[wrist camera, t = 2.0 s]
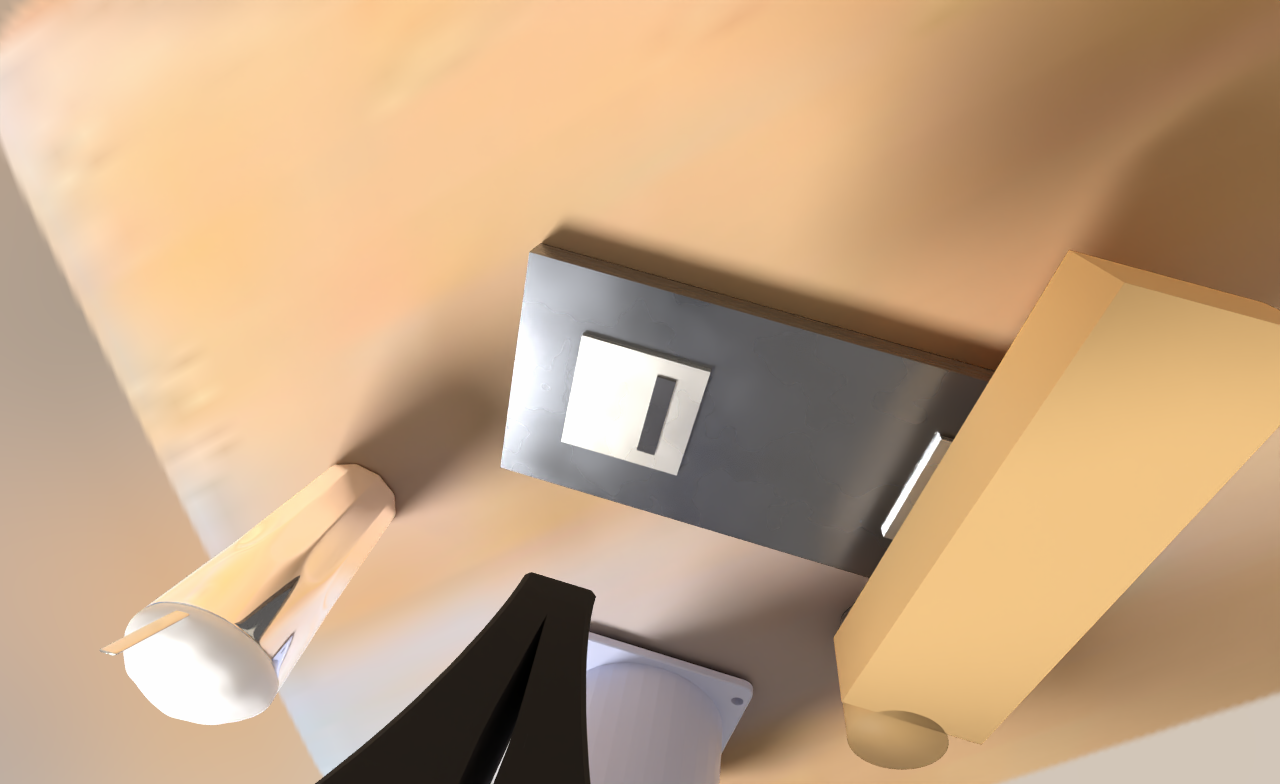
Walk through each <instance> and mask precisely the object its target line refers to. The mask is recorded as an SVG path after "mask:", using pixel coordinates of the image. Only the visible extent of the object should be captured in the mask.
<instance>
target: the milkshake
mask: <svg viewBox="0 0 1280 784" xmlns="http://www.w3.org/2000/svg"><path fill="white" fill-rule="evenodd" d="M395 514H396V509H395V496H394V493H393V492H392V491H391V490H390V488H389V487H388V486H387V485H386V483H385V482H384V481H383V480H382V478H381V477H380V476H379V475H377V474H375V473H373V472H371V471H369V470H367V469H365V468H363V467H361V466H359V465H357V464H344V465H333V466H332V467H330V468H329V469H328V470H326V471H325V472H324V473H322V474H321V475H320V476H319V477H317V478H316V479H315V480H313V481H312V482H311V483H310V484H308V485H307V486H306V487H304V488H303V489H302V490H301V491H299V492H298V493H297V494H295V495H294V496H293V497H292V498H290V499H289V500H288V501H287V502H285V503H284V504H283V505H281V506H280V507H279V508H278V509H276V510H275V511H274V512H272V513H271V514H270V515H269V516H267V517H266V518H265V519H263V520H262V521H261V522H260V523H258V524H257V525H256V526H254V527H253V528H252V529H251V530H249V531H248V532H247V533H245V534H244V535H243V536H242V537H240V538H239V539H238V540H236V541H235V542H234V543H232V544H231V545H230V546H228V547H227V548H226V549H224V550H223V551H222V552H220V553H219V554H217V555H216V556H215V557H213V558H212V559H210V560H209V561H208V562H206V563H205V564H204V565H202V566H201V567H200V568H198V569H197V570H195V571H194V572H193V573H191V574H190V575H189V576H187V577H186V578H185V579H183V580H182V581H181V582H179V583H178V584H177V585H175V586H174V587H172V588H171V589H170V590H168V591H167V592H166V593H164V594H163V595H161V596H160V597H159V598H158V599H156V600H155V601H153V602H152V603H151V604H149V605H148V606H147V607H145V608H144V609H143V610H141V611H140V612H138V613H137V614H136V615H135V616H134V617H133V618H132V619H131V621H130V623H129V625H128V626H127V628H126V631H125V635H124V637H123V638H121V639H119V640H117V641H115V642H113V643H111V644H109V645H107V646H105V647H103V648H102V649H100V651H101V652H104V653H107V654H111V655H117V654H119V653H121V652H123V651H124V662H125V668H126V671H127V674H128V675H129V677H130V678H131V679H132V680H133V681H134V682H135V683H136V684H137V686H138V688H139V689H140V690H141V692H142V693H143V694H144V695H145V697H146V698H147V699H148V700H149V701H150V702H151V703H152V704H153V705H154V706H156V707H157V708H158V709H159V710H161V711H162V712H163V713H165V714H166V715H168V716H170V717H173V718H177V719H182V720H186V721H190V722H194V723H198V724H205V725H218V724H223V723H229V722H237V721H241V720H244V719H248V718H251V717H253V716H256V715H258V714H260V713H262V712H263V711H264V710H266V709H267V707H269V705H270V704H271V703H272V701H273V700H274V698H275V696H276V694H277V692H278V691H279V689H280V688H281V686H282V685H283V683H284V682H285V680H286V679H287V677H288V675H289V674H290V672H291V671H292V669H293V668H294V666H295V665H296V663H297V661H298V660H299V658H300V657H301V655H302V654H303V652H304V650H305V649H306V647H307V646H308V644H309V643H310V641H311V640H312V638H313V636H314V635H315V633H316V632H317V630H318V629H319V627H320V625H321V624H322V622H323V621H324V619H325V618H326V616H327V615H328V613H329V612H330V610H331V609H332V607H333V606H334V604H335V603H336V601H337V600H338V598H339V597H340V595H341V594H342V592H343V591H344V589H345V588H346V587H347V585H348V584H349V582H350V581H351V579H352V578H353V576H354V575H355V573H356V572H357V570H358V569H359V568H360V566H361V565H362V563H363V562H364V560H365V559H366V557H367V556H368V554H369V553H370V551H371V550H372V549H373V547H374V546H375V544H376V543H377V541H378V540H379V538H380V537H381V535H382V534H383V533H384V531H385V530H386V528H387V527H388V525H389V524H390V522H391V521H392V519H393V518H394V516H395Z"/></svg>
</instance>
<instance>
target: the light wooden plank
mask: <svg viewBox="0 0 1280 784" xmlns="http://www.w3.org/2000/svg"><path fill="white" fill-rule="evenodd" d="M1279 426H1280V310H1278V309H1276V308H1274V307H1272V306H1269V305H1267V304H1265V303H1263V302H1259V301H1256V300H1252V299H1248V298H1245V297H1241V296H1237V295H1234V294H1230V293H1226V292H1223V291H1219V290H1215V289H1212V288H1208V287H1204V286H1201V285H1197V284H1193V283H1189V282H1186V281H1182V280H1178V279H1175V278H1171V277H1167V276H1164V275H1160V274H1156V273H1153V272H1149V271H1145V270H1142V269H1138V268H1134V267H1131V266H1127V265H1123V264H1120V263H1116V262H1112V261H1109V260H1105V259H1101V258H1097V257H1094V256H1090V255H1086V254H1083V253H1079V252H1075V251H1072V250H1069V251H1068V252H1067V254H1066V256H1065V257H1064V259H1063V261H1062V262H1061V264H1060V266H1059V267H1058V269H1057V270H1056V272H1055V274H1054V275H1053V277H1052V279H1051V280H1050V282H1049V284H1048V285H1047V287H1046V289H1045V290H1044V292H1043V294H1042V295H1041V297H1040V298H1039V300H1038V302H1037V303H1036V305H1035V307H1034V308H1033V310H1032V312H1031V313H1030V315H1029V317H1028V318H1027V320H1026V322H1025V323H1024V325H1023V326H1022V328H1021V330H1020V331H1019V333H1018V335H1017V336H1016V338H1015V340H1014V341H1013V343H1012V345H1011V346H1010V348H1009V350H1008V351H1007V353H1006V355H1005V356H1004V358H1003V359H1002V361H1001V363H1000V364H999V366H998V368H997V369H996V371H995V373H994V374H993V376H992V378H991V379H990V381H989V383H988V384H987V386H986V387H985V389H984V391H983V392H982V394H981V396H980V397H979V399H978V401H977V402H976V404H975V406H974V407H973V409H972V411H971V412H970V414H969V415H968V417H967V419H966V420H965V422H964V424H963V425H962V427H961V429H960V430H959V432H958V434H957V435H956V437H955V439H954V440H953V442H952V443H951V445H950V447H949V448H948V450H947V452H946V453H945V455H944V457H943V458H942V460H941V462H940V463H939V465H938V467H937V468H936V470H935V471H934V473H933V475H932V476H931V478H930V480H929V481H928V483H927V485H926V486H925V488H924V490H923V491H922V493H921V495H920V496H919V498H918V500H917V501H916V503H915V504H914V506H913V508H912V509H911V511H910V513H909V514H908V516H907V518H906V519H905V521H904V523H903V524H902V526H901V528H900V529H899V531H898V532H897V534H896V536H895V537H894V539H893V541H892V542H891V544H890V546H889V547H888V549H887V551H886V552H885V554H884V556H883V557H882V559H881V560H880V562H879V564H878V565H877V567H876V569H875V570H874V572H873V574H872V575H871V577H870V579H869V580H868V582H867V584H866V585H865V587H864V588H863V590H862V592H861V593H860V595H859V597H858V598H857V600H856V602H855V603H854V605H853V607H852V608H851V610H850V612H849V613H848V615H847V617H846V618H845V620H844V621H843V623H842V625H841V626H840V628H839V630H838V631H837V633H836V635H835V636H834V646H835V653H836V661H837V669H838V677H839V685H840V693H841V701H842V702H843V709H844V717H845V725H846V732H847V740H848V744H849V746H850V748H851V749H852V751H853V752H854V753H855V754H856V755H857V756H859V757H860V758H861V759H863V760H865V761H867V762H869V763H871V764H874V765H876V766H880V767H884V768H889V769H901V770H903V769H915V768H920V767H924V766H927V765H930V764H932V763H934V762H936V761H937V760H939V759H940V758H941V757H942V756H943V755H944V754H945V752H946V751H947V749H948V736H947V735H951V736H954V737H957V738H960V739H964V740H967V741H970V742H973V743H977V744H980V745H982V744H983V742H984V741H985V740H986V739H987V738H988V737H989V736H990V735H991V734H992V733H993V732H994V731H995V730H996V729H997V727H998V726H999V725H1000V724H1001V723H1002V722H1003V721H1004V720H1005V719H1006V718H1007V717H1008V716H1009V715H1010V714H1011V712H1012V711H1013V710H1014V709H1015V708H1016V707H1017V706H1018V705H1019V704H1020V703H1021V702H1022V701H1023V700H1024V699H1025V698H1026V696H1027V695H1028V694H1029V693H1030V692H1031V691H1032V690H1033V689H1034V688H1035V687H1036V686H1037V685H1038V684H1039V683H1040V681H1041V680H1042V679H1043V678H1044V677H1045V676H1046V675H1047V674H1048V673H1049V672H1050V671H1051V670H1052V669H1053V668H1054V667H1055V665H1056V664H1057V663H1058V662H1059V661H1060V660H1061V659H1062V658H1063V657H1064V656H1065V655H1066V654H1067V653H1068V652H1069V650H1070V649H1071V648H1072V647H1073V646H1074V645H1075V644H1076V643H1077V642H1078V641H1079V640H1080V639H1081V638H1082V637H1083V635H1084V634H1085V633H1086V632H1087V631H1088V630H1089V629H1090V628H1091V627H1092V626H1093V625H1094V624H1095V623H1096V622H1097V621H1098V619H1099V618H1100V617H1101V616H1102V615H1103V614H1104V613H1105V612H1106V611H1107V610H1108V609H1109V608H1110V607H1111V606H1112V604H1113V603H1114V602H1115V601H1116V600H1117V599H1118V598H1119V597H1120V596H1121V595H1122V594H1123V593H1124V592H1125V591H1126V590H1127V588H1128V587H1129V586H1130V585H1131V584H1132V583H1133V582H1134V581H1135V580H1136V579H1137V578H1138V577H1139V576H1140V575H1141V573H1142V572H1143V571H1144V570H1145V569H1146V568H1147V567H1148V566H1149V565H1150V564H1151V563H1152V562H1153V561H1154V560H1155V558H1156V557H1157V556H1158V555H1159V554H1160V553H1161V552H1162V551H1163V550H1164V549H1165V548H1166V547H1167V546H1168V545H1169V544H1170V542H1171V541H1172V540H1173V539H1174V538H1175V537H1176V536H1177V535H1178V534H1179V533H1180V532H1181V531H1182V530H1183V529H1184V527H1185V526H1186V525H1187V524H1188V523H1189V522H1190V521H1191V520H1192V519H1193V518H1194V517H1195V516H1196V515H1197V514H1198V512H1199V511H1200V510H1201V509H1202V508H1203V507H1204V506H1205V505H1206V504H1207V503H1208V502H1209V501H1210V500H1211V499H1212V498H1213V496H1214V495H1215V494H1216V493H1217V492H1218V491H1219V490H1220V489H1221V488H1222V487H1223V486H1224V485H1225V484H1226V483H1227V481H1228V480H1229V479H1230V478H1231V477H1232V476H1233V475H1234V474H1235V473H1236V472H1237V471H1238V470H1239V469H1240V468H1241V467H1242V465H1243V464H1244V463H1245V462H1246V461H1247V460H1248V459H1249V458H1250V457H1251V456H1252V455H1253V454H1254V453H1255V452H1256V450H1257V449H1258V448H1259V447H1260V446H1261V445H1262V444H1263V443H1264V442H1265V441H1266V440H1267V439H1268V438H1269V437H1270V435H1271V434H1272V433H1273V432H1274V431H1275V430H1276V429H1277V428H1278V427H1279Z"/></svg>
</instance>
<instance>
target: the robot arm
mask: <svg viewBox="0 0 1280 784" xmlns="http://www.w3.org/2000/svg"><path fill="white" fill-rule="evenodd" d="M595 598H596V596H595V595H594V593H593V592H592V591H591V590H588V589H585V588H581V587H578V586H575V585H572V584H568V583H565V582H562V581H559V580H555V579H552V578H549V577H545V576H542V575H539V574H536V573H532V572H531V573H528V574H526V575H525V576H524V577H523V579H522V580H521V582H520V583H519V585H518V586H517V588H516V589H515V590H514V592H513V593H512V594H511V596H510V597H509V598H508V600H507V601H506V602H505V604H504V605H503V606H502V607H501V609H500V610H499V611H498V612H497V613H496V615H495V616H494V617H493V618H492V619H491V621H490V622H489V623H488V624H487V625H486V626H485V628H484V629H483V630H482V631H481V632H480V633H479V634H478V635H477V636H476V638H475V639H474V640H473V641H472V642H471V643H470V644H469V645H468V646H467V647H466V648H465V650H464V651H463V652H462V653H461V654H460V655H459V656H458V657H457V658H456V659H455V660H454V661H453V662H452V663H451V665H450V666H449V667H448V668H447V669H445V670H444V671H443V672H442V673H441V674H440V675H439V676H438V677H437V678H436V679H435V680H434V681H433V682H432V683H431V684H430V685H429V686H428V687H427V688H426V689H425V690H424V691H423V692H422V693H421V694H420V695H419V696H418V697H417V698H416V699H415V700H414V701H413V702H412V703H411V704H409V705H408V706H407V707H406V708H405V709H404V710H403V711H402V712H401V713H400V714H399V715H397V716H396V717H395V718H394V719H393V720H392V721H391V722H390V723H388V724H387V725H386V726H385V727H384V728H383V729H382V730H380V731H379V732H378V733H377V734H376V735H375V736H373V737H372V738H371V739H370V740H369V741H368V742H366V743H365V744H364V745H363V746H362V747H360V748H359V749H358V750H357V751H355V752H354V753H353V754H352V755H351V756H349V757H348V758H347V759H346V760H344V761H343V762H342V763H341V764H339V765H338V766H337V767H336V768H334V769H333V770H332V771H331V772H329V773H328V774H327V775H326V776H324V777H323V778H322V779H321V780H319V781H318V782H317V783H315V784H491V781H492V779H493V777H494V775H495V773H496V770H497V768H498V766H499V764H500V761H501V759H502V757H503V755H504V753H505V750H506V748H507V746H508V744H509V746H508V748H507V751H506V753H505V756H504V758H503V761H502V764H501V766H500V769H499V771H498V774H497V776H496V779H495V781H494V784H719V782H720V765H721V754H722V752H723V750H724V748H725V746H726V745H727V743H728V741H729V739H730V737H731V735H732V733H733V732H734V730H735V728H736V726H737V724H738V722H739V721H740V719H741V717H742V715H743V713H744V711H745V709H746V708H747V706H748V704H749V702H750V700H751V698H752V696H753V687H752V685H751V684H750V683H749V682H748V681H746V680H743V679H740V678H737V677H734V676H730V675H727V674H724V673H721V672H717V671H714V670H711V669H708V668H705V667H701V666H698V665H695V664H692V663H688V662H685V661H682V660H679V659H675V658H672V657H669V656H666V655H663V654H659V653H656V652H653V651H650V650H646V649H643V648H640V647H637V646H633V645H630V644H627V643H624V642H621V641H617V640H614V639H611V638H608V637H604V636H601V635H598V634H595V633H591V632H589V628H590V621H591V615H592V609H593V605H594V601H595ZM510 739H511V740H510ZM509 742H510V743H509Z"/></svg>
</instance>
